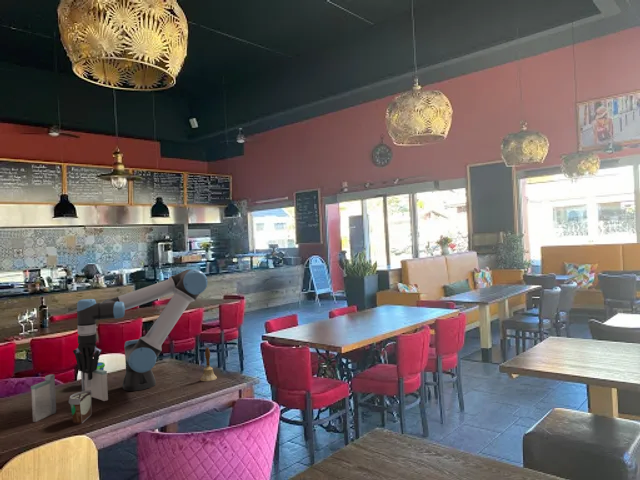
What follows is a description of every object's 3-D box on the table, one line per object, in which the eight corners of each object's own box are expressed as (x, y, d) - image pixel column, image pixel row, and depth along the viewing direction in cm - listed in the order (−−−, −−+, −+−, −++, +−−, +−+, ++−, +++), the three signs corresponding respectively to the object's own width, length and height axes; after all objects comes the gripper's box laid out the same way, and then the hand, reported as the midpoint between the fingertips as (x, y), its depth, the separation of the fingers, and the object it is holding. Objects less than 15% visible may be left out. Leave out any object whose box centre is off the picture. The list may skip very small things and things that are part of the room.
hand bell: (220, 377, 241) (218, 346, 241) (208, 382, 234) (206, 350, 234) (208, 376, 245) (207, 345, 245) (196, 380, 238) (195, 348, 238)
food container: (77, 415, 196) (76, 390, 196) (92, 413, 196) (91, 389, 196) (63, 426, 183) (62, 400, 183) (80, 425, 184) (79, 399, 184)
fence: (89, 396, 221) (87, 361, 222) (37, 421, 190) (35, 381, 190) (84, 396, 222) (82, 361, 222) (31, 421, 190) (30, 381, 191)
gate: (88, 393, 220) (87, 366, 220) (108, 399, 209) (106, 371, 209) (84, 394, 219) (83, 367, 219) (103, 401, 207) (102, 372, 208)
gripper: (68, 335, 209) (69, 389, 209) (94, 335, 206) (95, 390, 206) (79, 332, 216) (80, 384, 216) (105, 332, 214) (106, 384, 214)
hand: (88, 386), depth 211 cm, fingers closed
